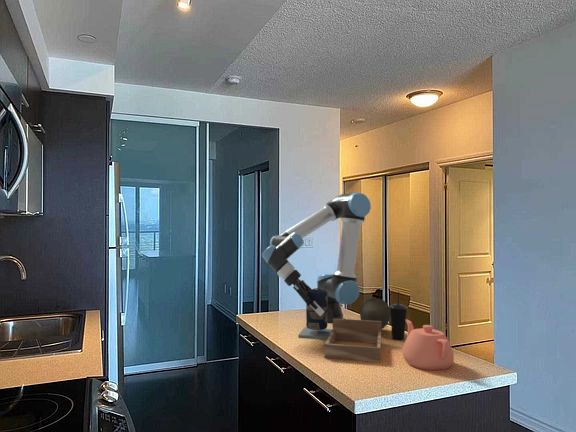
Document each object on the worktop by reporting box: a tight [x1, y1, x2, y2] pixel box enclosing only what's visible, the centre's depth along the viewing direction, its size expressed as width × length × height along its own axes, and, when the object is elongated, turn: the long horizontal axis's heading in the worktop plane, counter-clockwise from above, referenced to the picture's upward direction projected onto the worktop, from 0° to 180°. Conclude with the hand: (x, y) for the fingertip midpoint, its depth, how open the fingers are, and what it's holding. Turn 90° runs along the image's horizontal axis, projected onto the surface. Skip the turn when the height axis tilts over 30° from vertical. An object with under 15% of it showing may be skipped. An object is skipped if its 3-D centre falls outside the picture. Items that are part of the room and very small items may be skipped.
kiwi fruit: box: [359, 297, 391, 330], centre depth 202 cm, size 14×14×15 cm
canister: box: [305, 288, 328, 330], centre depth 196 cm, size 10×10×18 cm
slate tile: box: [297, 327, 333, 340], centre depth 195 cm, size 14×14×1 cm
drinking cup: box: [388, 291, 408, 341], centre depth 190 cm, size 8×8×20 cm
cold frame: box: [323, 318, 382, 363], centre depth 172 cm, size 26×20×9 cm
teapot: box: [402, 318, 455, 371], centre depth 158 cm, size 25×17×13 cm
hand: (324, 311), depth 195 cm, fingers closed on canister, 9 cm apart
